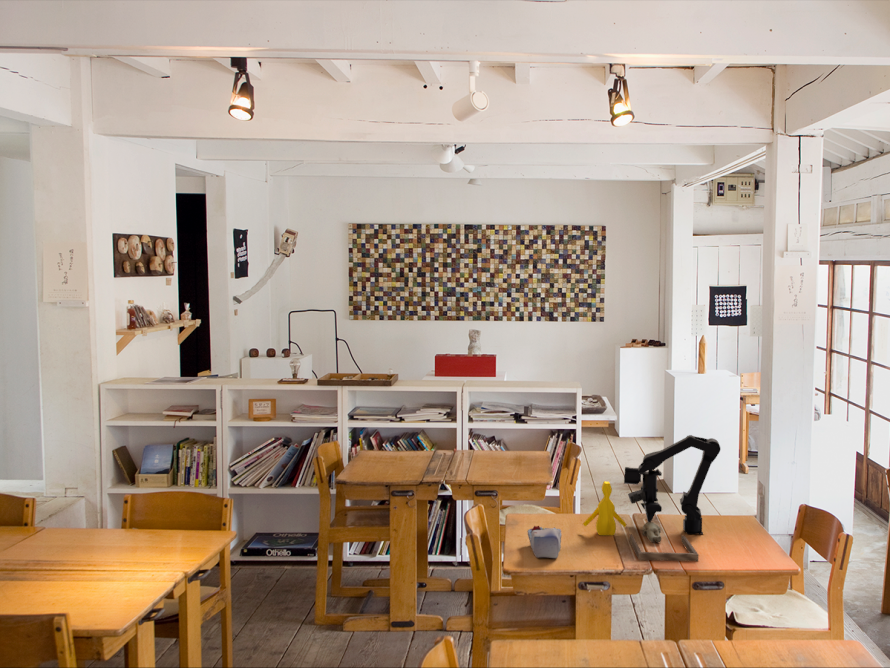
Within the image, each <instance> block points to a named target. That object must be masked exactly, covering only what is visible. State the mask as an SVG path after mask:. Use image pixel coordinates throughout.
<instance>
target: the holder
mask: <svg viewBox="0 0 890 668" xmlns="http://www.w3.org/2000/svg"><path fill="white" fill-rule="evenodd" d="M680 537H681V538H680V539H681V540H680V541H681V544H683V546H684V548H685V547H686V548H685V549H686V551H687V552H658V551H657V552H656V551H655V552H652V551H651V552H650V551H642V550H641V548H640V546H639V544H638V543H637V541H636V539H635V537H634V535H633V533H632V534H631V533H630V534H629V535H628V541H629V543H630V545H631V547H632V549H633V551H634V553H635V556H636V557H637V560H638V561H675V562H677V561H680V562H681V561H682V562H699V553H698V551H696V549H695V548H694V546H693V545H692V543H691V542H690V541H689V539H688V538H687V537H686V535H684V534H683V535H682V534H681V536H680Z"/></svg>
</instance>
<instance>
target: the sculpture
mask: <svg viewBox="0 0 890 668" xmlns="http://www.w3.org/2000/svg"><path fill="white" fill-rule="evenodd" d="M661 531H662V530H661V527H660V526H659V524H657V523H655V522H653V521H651V522H648V521H647V522H645V523H644V525H643V526H642V535H643V536H644V537H647V539H648V541H650V542H651V543H654V542H656V543H658V544H659V543H661V541H662V536H661V533H662V532H661Z"/></svg>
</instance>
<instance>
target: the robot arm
mask: <svg viewBox="0 0 890 668" xmlns="http://www.w3.org/2000/svg"><path fill="white" fill-rule="evenodd" d="M690 448H695V449H697V450H700V451H702V455H701V460H700V463H699V465H698V468H697V470H696V473H695V475H694V477H693V480H692V483H691V484H690V487H689V489H688V491H683V493H682V496H681V498H679V504H680V508H681V511H682V513H683V514H685V515H684V519H683V521H682V522H683V523H682V530H684V532H685V533H686V534H687V535H704V532H703V517H702V512H701V511H702V510H701V509H700V508H699V507H698V502H699V495H700V493H701V490H702V487H703V484H704V483H705V480H706V477H707V475H708V472H709V470H710V467H711V465H712V463H713V462H715V459H717V457H718V455H719V454H720V452H721V445H720V443H719V442H718V440H717V439H715V438H704V437H699V436H694V435H692V434H689V435H686V437H684V438H682V439H681V440H679V441H677V442H675V443H673V444H670V445H669V446H667V447H665V448H663V449H661V450H657V451H653V452H650V453H647V454H645V455H644V456H643V458H642V462H641V463H640V465H638V467H630V466H629V467H628V466H625V467H624V475H623V476H624V477H623V483H624V484H627V485H637V486H638V485H639V484H640V483H641V482H642V486H640V489H638V490H635V491H632V492H629V493H627V496H628V497H629V500H630V503H631V504H633V505H634V504H635V503H638V502H640V505H641V506H642V508H643V509H644V511H645V517H646V520H647V522H653V519H654V516H655V515H656V513H661V512H662V511H663V510H662V506H661V504H660V503H659V502H658V501H659V500H658V496H657V495H658V492H659V490H658V477H661V476H662V473H663V472H661V471H660V469H659V467H660V465H662V464H663V463H664V462H665V461H666V460H668V459H670V458H672V457H673V456H676V455H679V454H680V453H682V452H683V451H685V450H688V449H690ZM641 501H642V503H641Z"/></svg>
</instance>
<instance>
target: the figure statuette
mask: <svg viewBox="0 0 890 668" xmlns="http://www.w3.org/2000/svg"><path fill="white" fill-rule="evenodd" d="M601 492H602V494H603V497H602V498H601V499H600V501H599V503H598V504H597V507H596V508H595V510H594V511H593V512H592V513H591V515H590V516H589V517H587V518H586V520H584V522H583V523H582V525H583V526H584V527H588V525H589V524H590V523H591V522H592V521H593V520H594V519H595V518H597V519H596V522H595V530H596V532H597V534H598V535H599V536H614V535H615V534H616V530H617V524H616V521H617V522H618V523H619V524H620V525H622V527H624V528H626V526H627V523H626V522H625V521H624V520H623V518H622V517H621V516H620V515H619V514H618V513H617V512H616V507H615V504H614V502H613V501H612V500H611V494H612V492H613V489H612V484H611V483H610V481H603V483H602V485H601ZM615 520H616V521H615Z"/></svg>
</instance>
